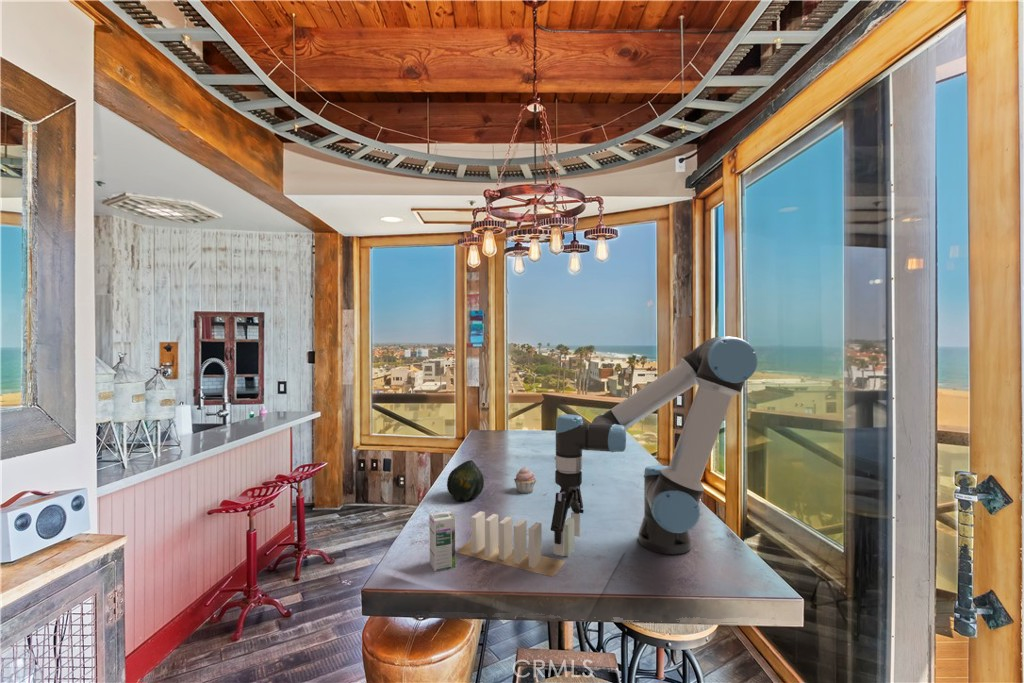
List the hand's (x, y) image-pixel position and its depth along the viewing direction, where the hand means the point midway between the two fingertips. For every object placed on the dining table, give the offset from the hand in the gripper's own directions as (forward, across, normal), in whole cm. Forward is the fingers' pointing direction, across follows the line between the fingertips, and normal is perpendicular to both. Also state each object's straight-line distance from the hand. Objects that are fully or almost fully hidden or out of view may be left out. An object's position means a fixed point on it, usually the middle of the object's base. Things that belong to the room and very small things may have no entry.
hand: (567, 544), depth 128 cm
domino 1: (+2, +10, -24) cm, 26 cm away
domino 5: (+2, +10, -6) cm, 12 cm away
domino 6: (+3, 0, 0) cm, 3 cm away
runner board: (+4, +10, -14) cm, 17 cm away
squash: (+4, -28, -53) cm, 60 cm away
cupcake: (+4, -45, -35) cm, 57 cm away
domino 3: (+2, +10, -15) cm, 18 cm away
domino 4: (+2, +10, -10) cm, 14 cm away
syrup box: (+4, +22, -28) cm, 35 cm away
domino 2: (+2, +10, -19) cm, 22 cm away
